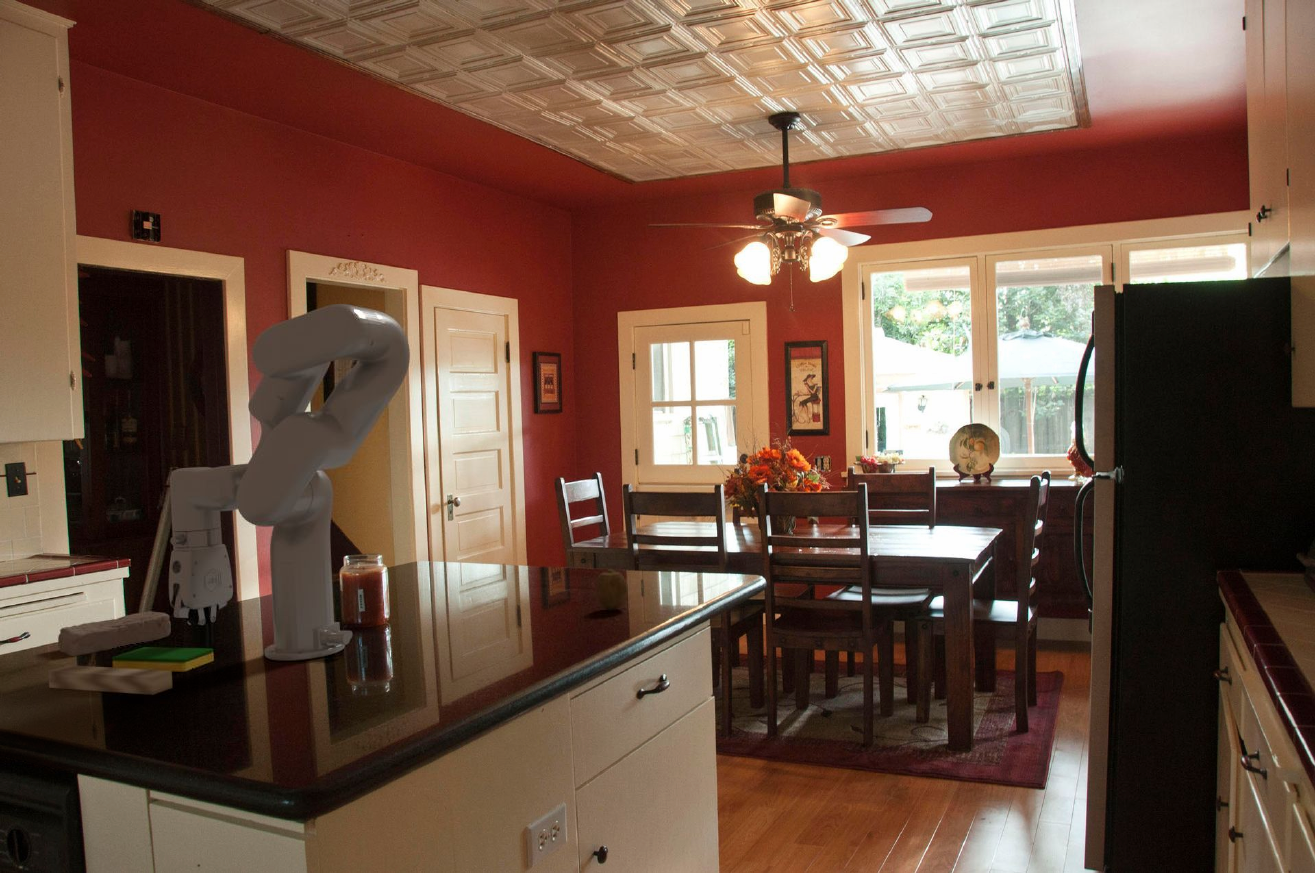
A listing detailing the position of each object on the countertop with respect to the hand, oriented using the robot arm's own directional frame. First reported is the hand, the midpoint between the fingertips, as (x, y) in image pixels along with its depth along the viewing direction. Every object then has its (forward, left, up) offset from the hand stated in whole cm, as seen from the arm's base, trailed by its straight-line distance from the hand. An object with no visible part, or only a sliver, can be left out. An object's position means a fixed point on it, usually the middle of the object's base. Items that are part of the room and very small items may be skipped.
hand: (203, 646), depth 166 cm
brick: (+22, -3, -2) cm, 22 cm away
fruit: (-59, -42, -1) cm, 72 cm away
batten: (-3, +21, -1) cm, 22 cm away
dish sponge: (0, +8, -2) cm, 9 cm away
